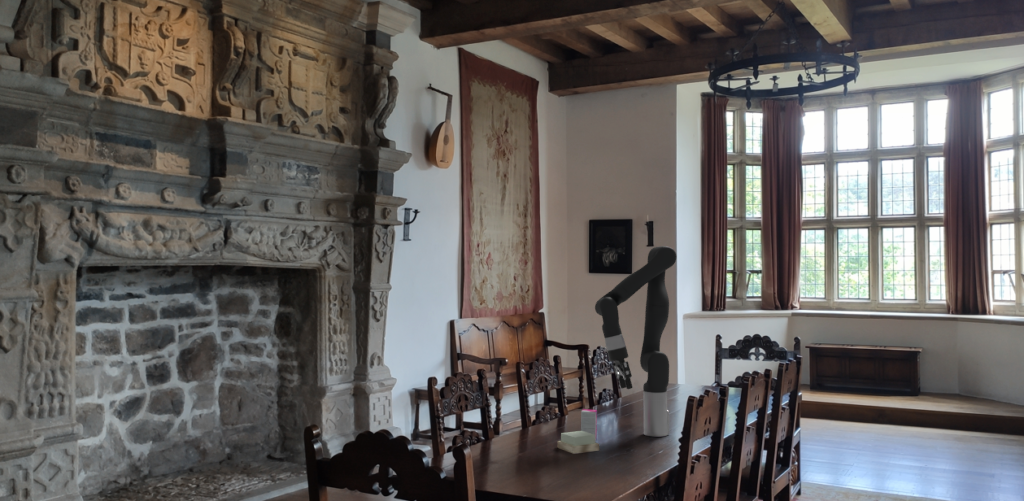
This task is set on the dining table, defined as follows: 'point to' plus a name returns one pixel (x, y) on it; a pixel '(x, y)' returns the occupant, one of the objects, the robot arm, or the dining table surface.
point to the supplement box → (589, 421)
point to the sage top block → (578, 438)
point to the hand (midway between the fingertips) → (626, 388)
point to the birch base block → (578, 447)
